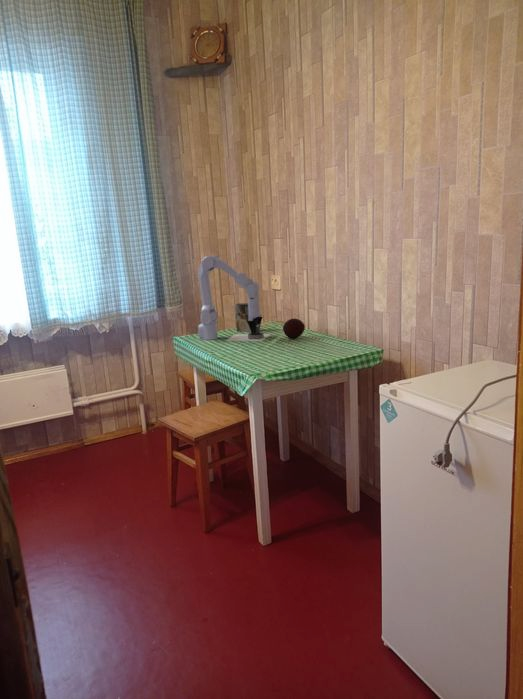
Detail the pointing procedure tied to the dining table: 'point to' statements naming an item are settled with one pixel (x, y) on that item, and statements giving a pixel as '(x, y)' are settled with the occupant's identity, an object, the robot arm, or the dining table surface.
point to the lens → (257, 330)
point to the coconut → (293, 328)
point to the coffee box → (242, 317)
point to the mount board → (241, 338)
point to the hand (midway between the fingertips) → (255, 332)
